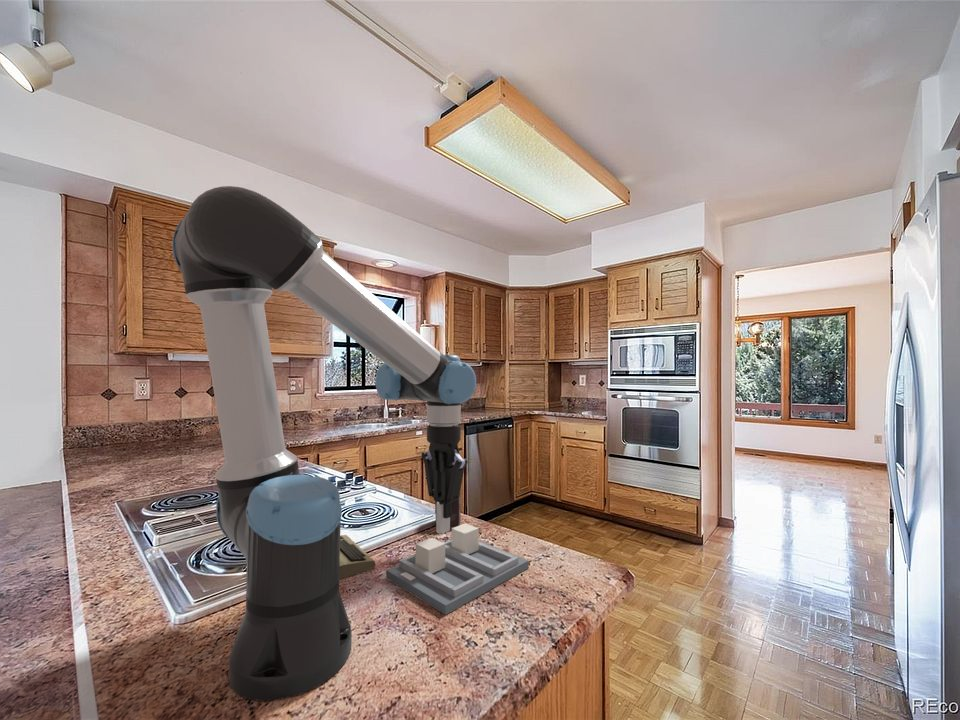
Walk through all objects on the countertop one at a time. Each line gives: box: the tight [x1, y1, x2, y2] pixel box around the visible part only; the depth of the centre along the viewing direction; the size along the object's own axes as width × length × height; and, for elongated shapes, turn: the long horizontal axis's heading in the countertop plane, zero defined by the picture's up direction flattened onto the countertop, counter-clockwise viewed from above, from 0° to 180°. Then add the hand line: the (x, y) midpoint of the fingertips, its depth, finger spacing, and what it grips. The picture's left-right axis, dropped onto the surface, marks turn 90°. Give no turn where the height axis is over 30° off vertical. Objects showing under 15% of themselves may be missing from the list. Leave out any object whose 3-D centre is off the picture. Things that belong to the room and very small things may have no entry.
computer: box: [339, 534, 376, 581], centre depth 85 cm, size 16×8×3 cm, turn 37°
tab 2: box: [451, 523, 480, 555], centre depth 86 cm, size 4×4×4 cm
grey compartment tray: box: [385, 539, 530, 615], centre depth 80 cm, size 22×17×3 cm
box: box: [450, 494, 462, 528], centre depth 106 cm, size 6×6×7 cm
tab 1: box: [415, 537, 445, 574], centre depth 78 cm, size 4×4×4 cm
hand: (443, 531), depth 91 cm, fingers closed
